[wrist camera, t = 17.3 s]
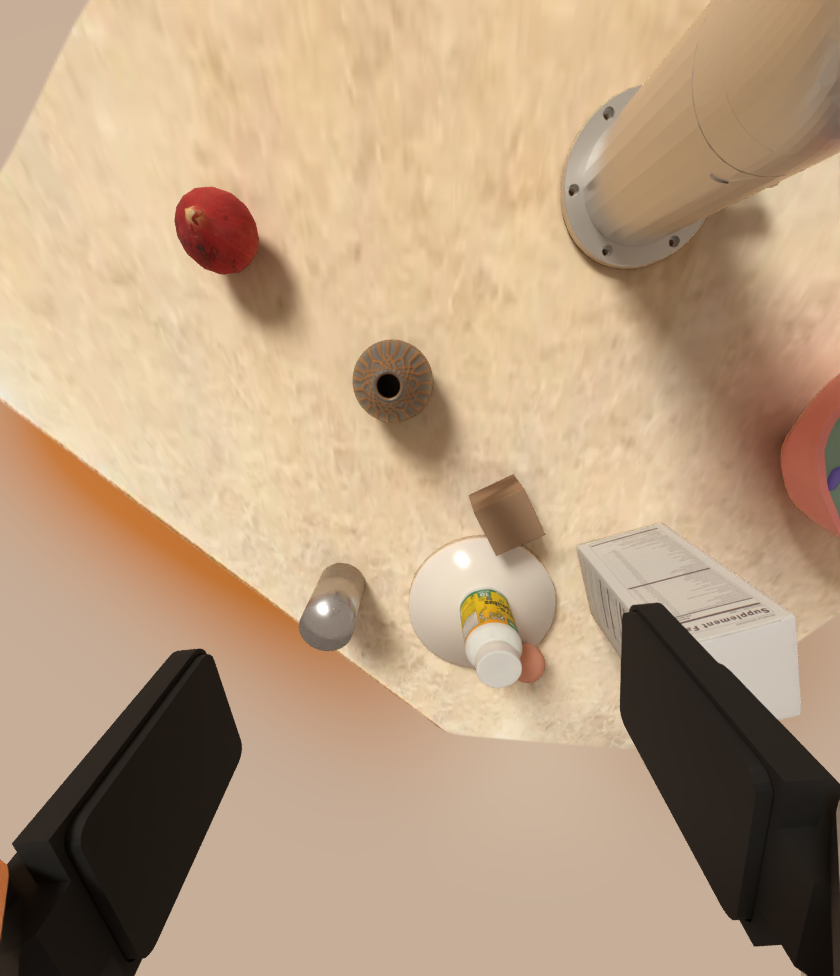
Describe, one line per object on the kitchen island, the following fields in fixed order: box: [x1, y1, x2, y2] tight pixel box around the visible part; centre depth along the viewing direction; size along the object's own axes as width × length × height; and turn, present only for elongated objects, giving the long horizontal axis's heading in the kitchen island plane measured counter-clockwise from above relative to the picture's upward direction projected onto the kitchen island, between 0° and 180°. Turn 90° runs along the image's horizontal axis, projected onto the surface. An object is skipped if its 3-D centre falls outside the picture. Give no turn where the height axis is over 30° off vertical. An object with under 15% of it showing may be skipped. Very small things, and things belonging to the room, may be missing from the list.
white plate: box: [409, 535, 556, 668], centre depth 46 cm, size 16×16×1 cm
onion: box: [175, 187, 259, 274], centre depth 33 cm, size 6×6×8 cm
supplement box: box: [577, 523, 801, 720], centre depth 38 cm, size 10×9×17 cm
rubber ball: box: [518, 643, 545, 683], centre depth 45 cm, size 4×4×4 cm
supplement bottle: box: [460, 587, 522, 688], centre depth 41 cm, size 5×5×10 cm
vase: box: [353, 340, 433, 422], centre depth 36 cm, size 7×7×9 cm
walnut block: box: [469, 475, 545, 556], centre depth 41 cm, size 5×5×5 cm
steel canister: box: [299, 563, 365, 651], centre depth 43 cm, size 5×5×8 cm
